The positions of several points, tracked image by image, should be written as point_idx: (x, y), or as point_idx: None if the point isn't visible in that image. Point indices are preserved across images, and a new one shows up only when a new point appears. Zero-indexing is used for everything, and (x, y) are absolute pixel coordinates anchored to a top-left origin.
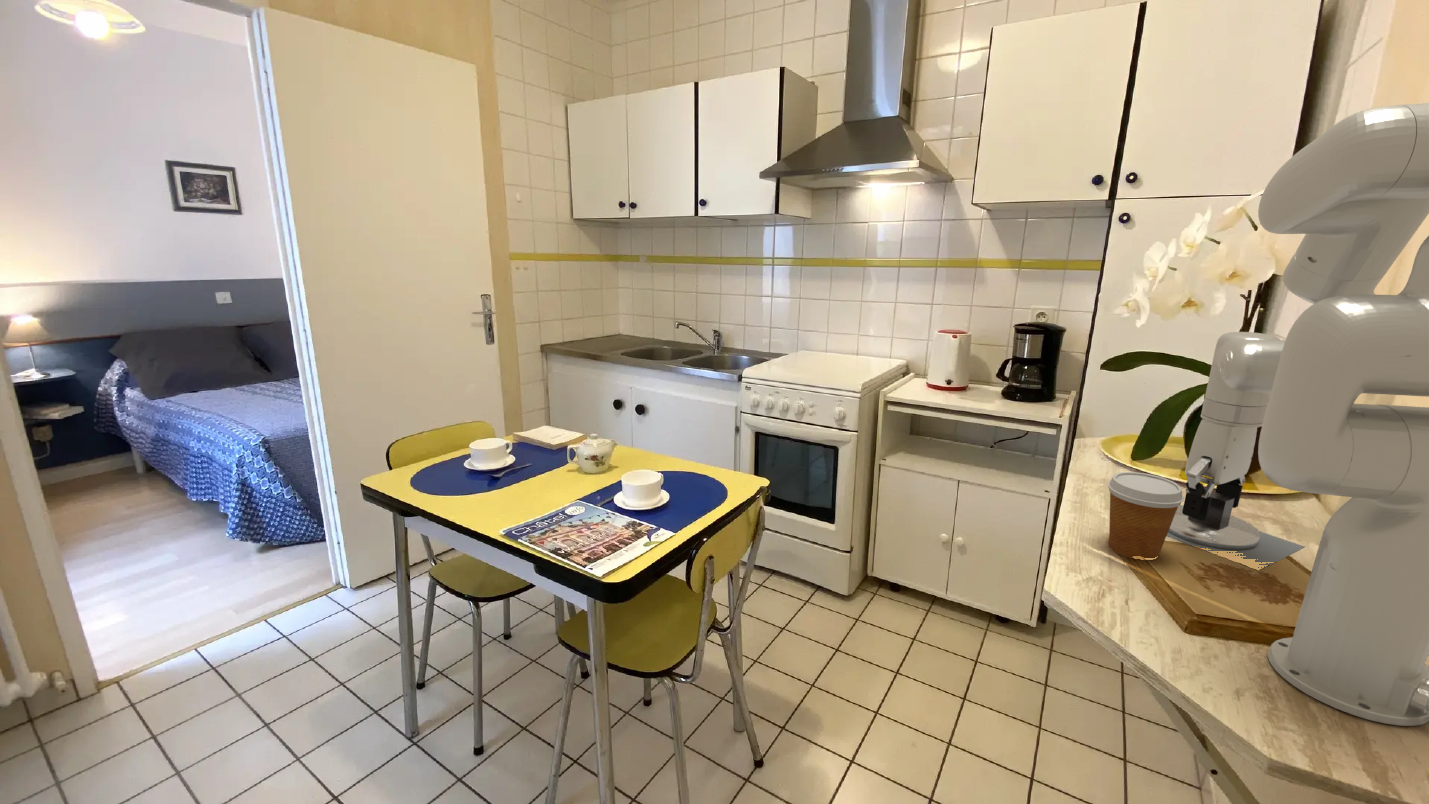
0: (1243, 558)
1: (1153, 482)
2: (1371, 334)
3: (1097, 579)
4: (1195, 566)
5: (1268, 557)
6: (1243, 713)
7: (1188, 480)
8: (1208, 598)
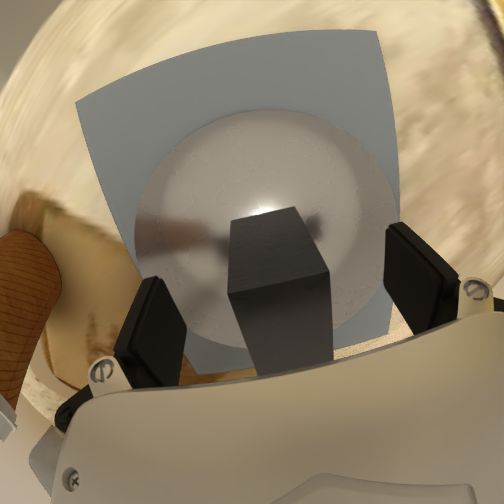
0: (215, 349)
1: None
2: None
3: None
4: (110, 329)
5: None
6: (46, 412)
7: (46, 437)
8: (80, 371)
